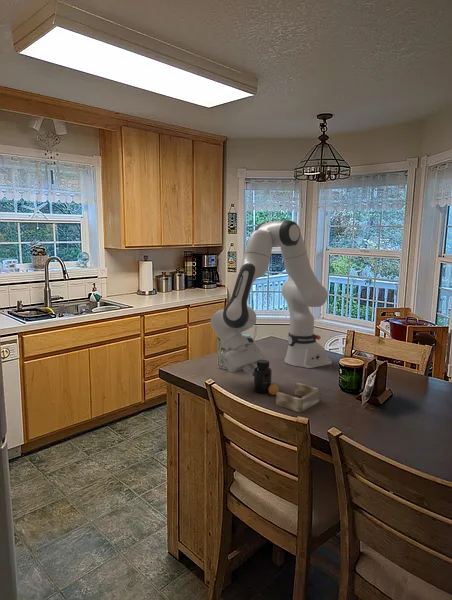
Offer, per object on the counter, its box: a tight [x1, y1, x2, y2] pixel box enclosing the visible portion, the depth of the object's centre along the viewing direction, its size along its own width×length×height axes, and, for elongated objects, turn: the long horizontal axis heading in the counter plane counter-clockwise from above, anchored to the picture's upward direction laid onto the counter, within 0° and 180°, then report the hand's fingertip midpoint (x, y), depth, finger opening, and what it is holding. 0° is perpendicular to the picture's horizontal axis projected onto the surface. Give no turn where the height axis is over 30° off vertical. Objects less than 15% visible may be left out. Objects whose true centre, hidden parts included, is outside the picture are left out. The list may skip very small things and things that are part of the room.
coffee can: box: [216, 335, 228, 370], centre depth 195 cm, size 10×10×14 cm
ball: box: [268, 383, 280, 396], centre depth 164 cm, size 4×4×4 cm
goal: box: [275, 382, 322, 413], centre depth 157 cm, size 10×14×4 cm
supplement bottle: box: [253, 359, 273, 395], centre depth 167 cm, size 7×7×12 cm
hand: (254, 375), depth 169 cm, fingers closed
